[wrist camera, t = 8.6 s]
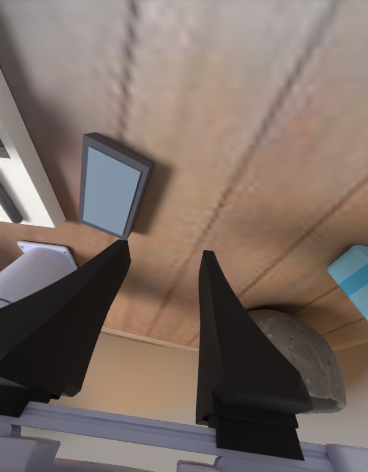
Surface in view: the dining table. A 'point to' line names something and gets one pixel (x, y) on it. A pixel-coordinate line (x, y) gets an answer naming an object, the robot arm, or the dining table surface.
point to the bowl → (305, 357)
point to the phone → (111, 185)
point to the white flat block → (23, 172)
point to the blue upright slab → (353, 276)
